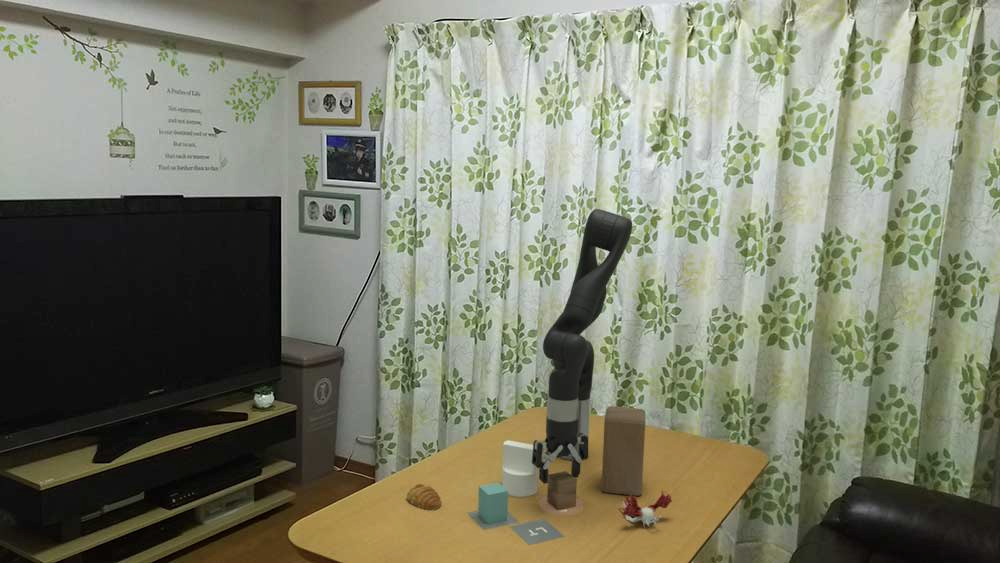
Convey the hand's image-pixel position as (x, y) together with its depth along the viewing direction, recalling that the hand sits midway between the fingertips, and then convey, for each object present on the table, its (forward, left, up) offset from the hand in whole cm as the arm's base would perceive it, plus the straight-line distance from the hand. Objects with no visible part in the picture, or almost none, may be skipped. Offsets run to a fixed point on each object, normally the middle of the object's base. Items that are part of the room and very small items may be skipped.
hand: (559, 479), depth 172 cm
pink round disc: (+1, 0, -7) cm, 7 cm away
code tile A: (+10, -12, -7) cm, 16 cm away
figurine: (+15, +13, -7) cm, 21 cm away
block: (-2, +20, -7) cm, 22 cm away
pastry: (-15, -29, -7) cm, 33 cm away
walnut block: (+1, 0, -6) cm, 6 cm away
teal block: (0, -18, -6) cm, 19 cm away
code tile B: (0, -18, -7) cm, 19 cm away
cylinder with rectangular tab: (-11, -5, -7) cm, 14 cm away
